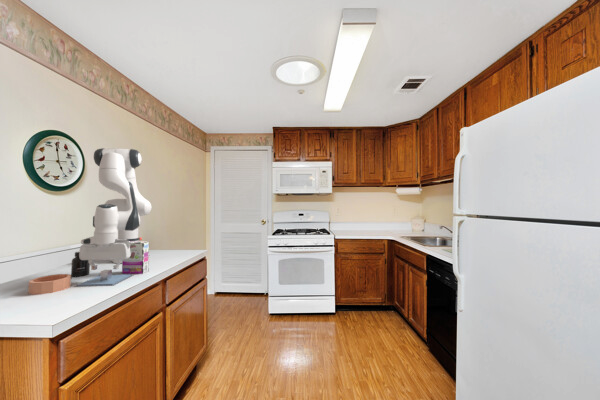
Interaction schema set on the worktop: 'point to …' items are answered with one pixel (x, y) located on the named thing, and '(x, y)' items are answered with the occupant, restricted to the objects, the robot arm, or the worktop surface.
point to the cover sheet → (108, 282)
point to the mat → (106, 285)
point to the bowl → (49, 284)
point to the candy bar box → (137, 258)
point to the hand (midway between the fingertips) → (105, 269)
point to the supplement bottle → (79, 267)
